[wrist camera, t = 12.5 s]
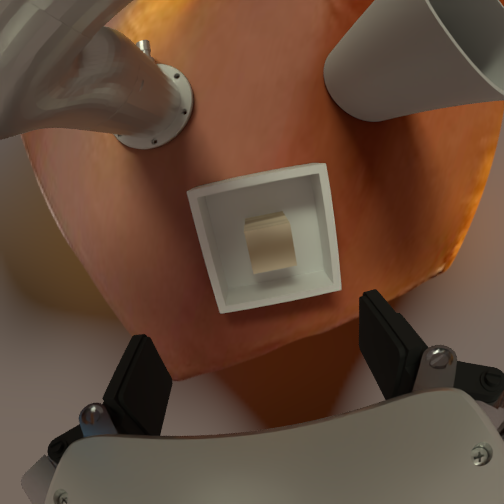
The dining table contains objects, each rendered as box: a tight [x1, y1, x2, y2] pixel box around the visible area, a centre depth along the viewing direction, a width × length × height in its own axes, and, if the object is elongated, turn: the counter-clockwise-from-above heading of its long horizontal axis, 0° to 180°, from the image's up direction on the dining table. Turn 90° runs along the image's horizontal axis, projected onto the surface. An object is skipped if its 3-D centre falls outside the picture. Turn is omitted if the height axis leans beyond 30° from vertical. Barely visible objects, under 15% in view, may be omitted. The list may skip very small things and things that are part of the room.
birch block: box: [244, 211, 297, 274], centre depth 33 cm, size 5×5×7 cm
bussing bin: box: [187, 163, 341, 314], centre depth 35 cm, size 16×16×6 cm
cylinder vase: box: [324, 0, 504, 122], centre depth 19 cm, size 12×12×25 cm
